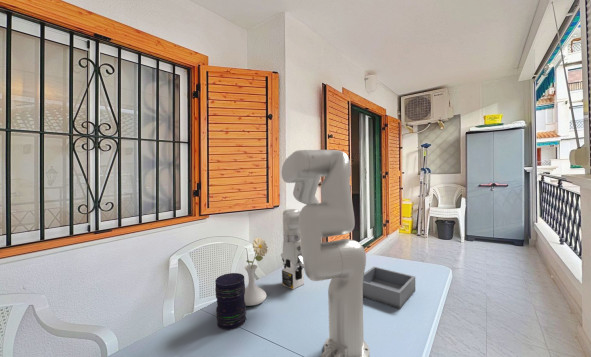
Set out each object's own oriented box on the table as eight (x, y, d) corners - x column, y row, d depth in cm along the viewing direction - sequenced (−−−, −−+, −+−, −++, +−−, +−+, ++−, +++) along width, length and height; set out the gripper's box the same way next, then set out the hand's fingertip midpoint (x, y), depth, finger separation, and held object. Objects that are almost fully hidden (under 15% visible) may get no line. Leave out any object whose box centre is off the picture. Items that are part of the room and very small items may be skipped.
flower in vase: (246, 312, 94) (244, 244, 93) (232, 300, 103) (230, 238, 102) (275, 300, 102) (273, 237, 101) (260, 290, 111) (258, 232, 110)
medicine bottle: (282, 284, 116) (281, 258, 115) (293, 279, 121) (292, 254, 120) (293, 289, 111) (292, 262, 110) (304, 284, 116) (303, 257, 115)
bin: (399, 309, 93) (399, 293, 93) (355, 294, 105) (354, 279, 105) (415, 290, 107) (415, 276, 107) (374, 279, 119) (373, 266, 118)
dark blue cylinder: (211, 329, 85) (209, 284, 84) (223, 312, 94) (222, 272, 94) (240, 331, 83) (238, 285, 83) (250, 314, 93) (248, 273, 92)
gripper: (311, 239, 110) (312, 280, 111) (286, 232, 124) (288, 268, 125) (297, 243, 106) (298, 285, 106) (273, 235, 119) (275, 272, 120)
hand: (292, 275), depth 116 cm, fingers closed on medicine bottle, 7 cm apart
